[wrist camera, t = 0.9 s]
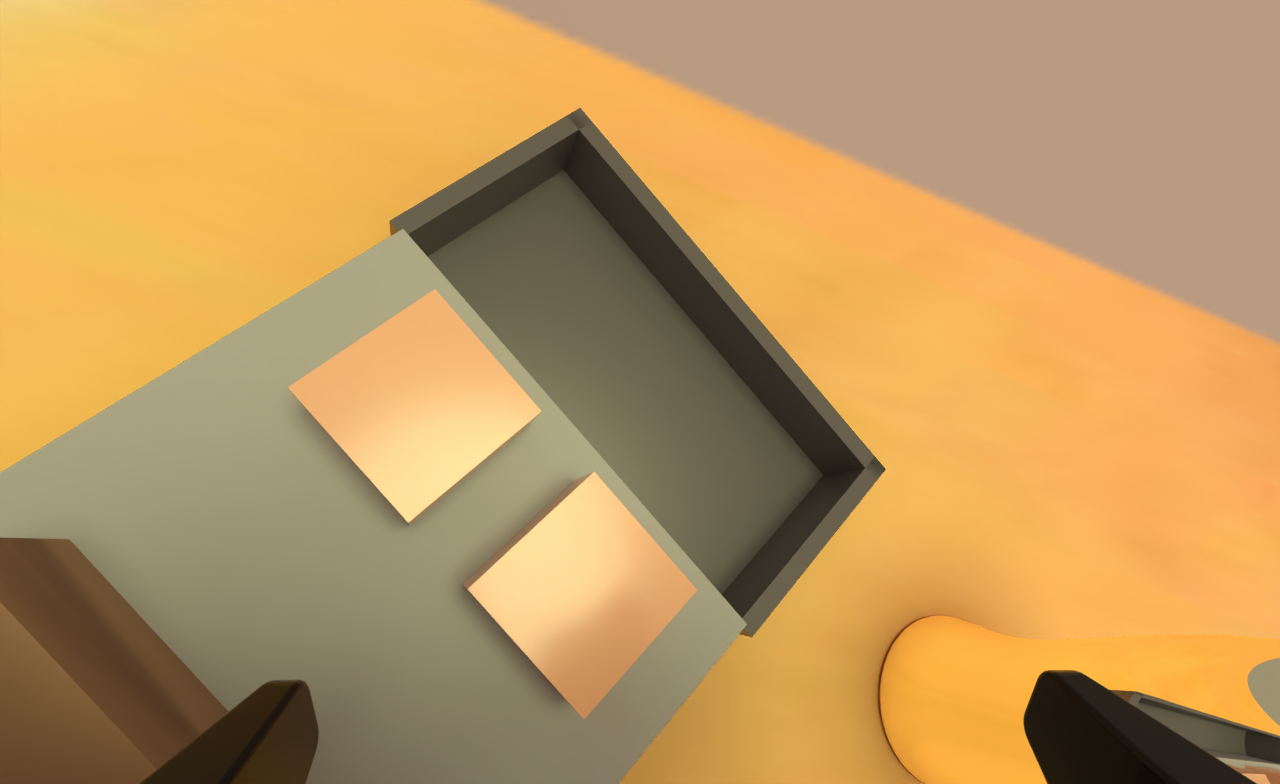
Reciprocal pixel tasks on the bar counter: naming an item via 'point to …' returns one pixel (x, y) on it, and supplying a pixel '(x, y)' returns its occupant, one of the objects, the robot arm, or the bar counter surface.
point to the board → (349, 554)
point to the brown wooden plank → (85, 676)
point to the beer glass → (1128, 666)
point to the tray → (650, 357)
